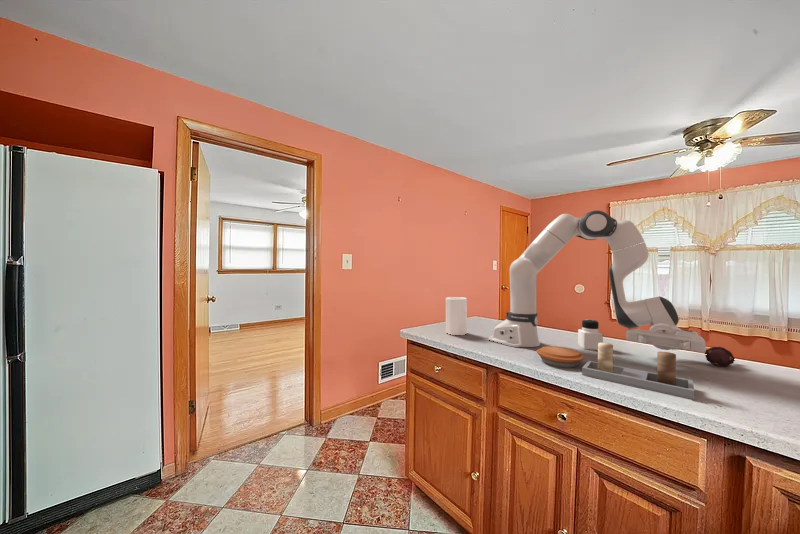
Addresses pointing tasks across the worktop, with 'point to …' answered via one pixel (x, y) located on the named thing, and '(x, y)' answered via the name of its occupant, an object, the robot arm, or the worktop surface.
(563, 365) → the pie
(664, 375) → the walnut dowel
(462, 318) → the cup
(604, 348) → the birch dowel
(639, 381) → the rack
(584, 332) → the medicine bottle
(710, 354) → the dark brown oval piece
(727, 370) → the worktop surface
